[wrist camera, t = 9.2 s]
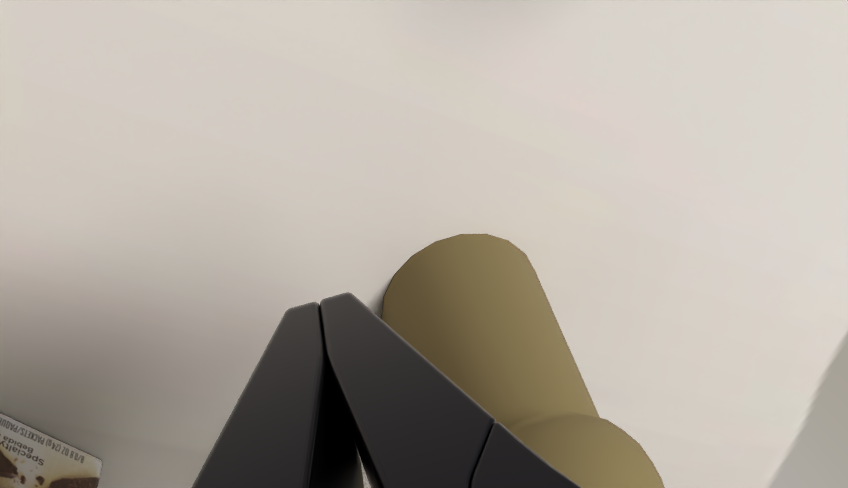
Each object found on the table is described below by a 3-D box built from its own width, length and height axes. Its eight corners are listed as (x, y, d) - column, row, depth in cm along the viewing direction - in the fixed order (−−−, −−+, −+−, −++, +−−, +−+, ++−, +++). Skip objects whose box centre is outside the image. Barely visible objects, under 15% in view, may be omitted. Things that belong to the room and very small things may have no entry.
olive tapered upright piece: (364, 361, 25) (438, 661, 16) (405, 222, 22) (524, 486, 13) (506, 370, 27) (646, 641, 18) (560, 244, 24) (756, 485, 15)
